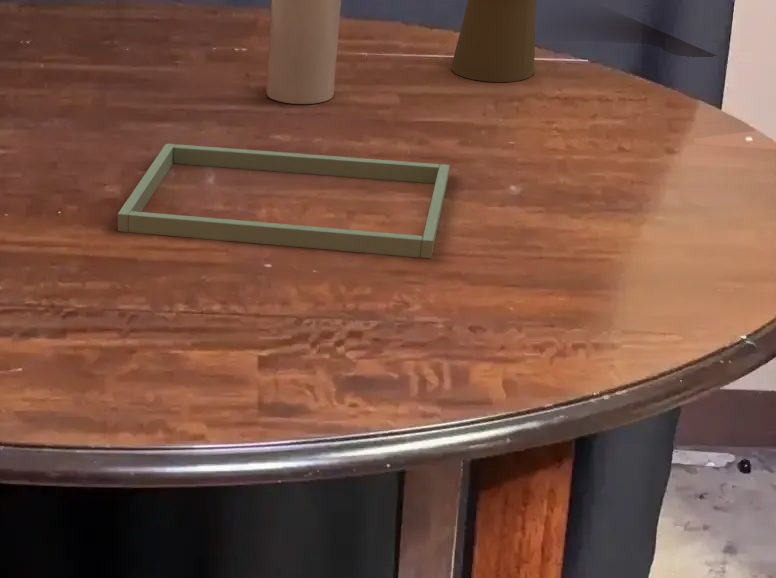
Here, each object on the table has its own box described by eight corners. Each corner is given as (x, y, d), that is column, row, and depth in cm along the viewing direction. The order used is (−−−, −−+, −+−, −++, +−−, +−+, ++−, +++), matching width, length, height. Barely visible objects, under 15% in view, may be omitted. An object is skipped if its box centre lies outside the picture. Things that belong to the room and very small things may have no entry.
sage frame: (445, 199, 90) (449, 164, 89) (428, 278, 81) (433, 240, 80) (165, 176, 94) (165, 143, 93) (117, 249, 84) (117, 213, 83)
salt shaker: (338, 86, 109) (350, -76, 103) (329, 106, 105) (342, -61, 99) (272, 82, 110) (280, -79, 104) (261, 101, 106) (269, -65, 100)
